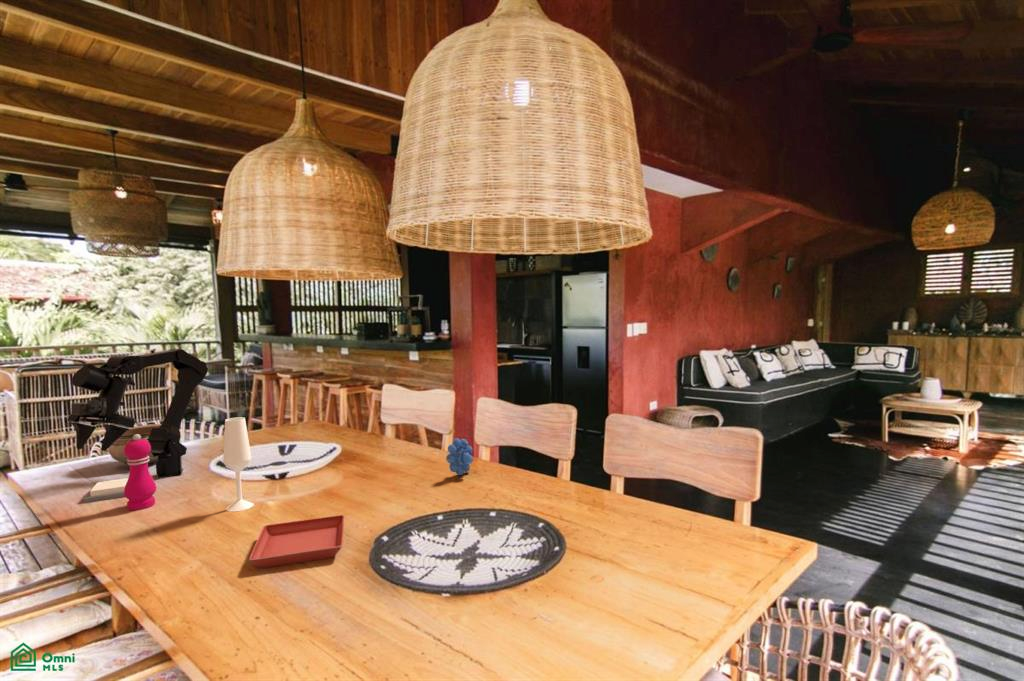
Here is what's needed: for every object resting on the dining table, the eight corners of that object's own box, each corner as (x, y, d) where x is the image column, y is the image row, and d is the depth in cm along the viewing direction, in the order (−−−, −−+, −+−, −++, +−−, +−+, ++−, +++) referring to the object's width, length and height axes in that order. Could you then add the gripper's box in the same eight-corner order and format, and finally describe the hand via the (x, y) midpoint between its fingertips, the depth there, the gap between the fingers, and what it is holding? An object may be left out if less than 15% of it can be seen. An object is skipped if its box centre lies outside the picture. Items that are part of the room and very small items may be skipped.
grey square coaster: (141, 484, 163) (140, 475, 163) (135, 495, 153) (134, 485, 153) (92, 491, 158) (92, 482, 157) (83, 503, 148) (82, 493, 148)
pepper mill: (144, 510, 141) (140, 437, 140) (118, 511, 141) (113, 437, 140) (163, 501, 148) (158, 430, 147) (138, 501, 148) (133, 431, 147)
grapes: (458, 482, 158) (457, 443, 157) (442, 479, 162) (440, 440, 161) (482, 472, 168) (481, 435, 167) (466, 469, 172) (465, 432, 171)
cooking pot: (96, 465, 185) (93, 431, 184) (155, 452, 201) (153, 421, 200) (129, 476, 172) (126, 439, 171) (190, 461, 188) (188, 427, 187)
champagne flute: (242, 512, 138) (237, 422, 137) (219, 510, 140) (214, 421, 138) (259, 502, 145) (254, 416, 144) (237, 501, 146) (233, 416, 145)
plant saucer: (248, 575, 106) (248, 559, 106) (264, 538, 123) (263, 524, 123) (343, 561, 111) (342, 545, 111) (345, 527, 128) (344, 514, 128)
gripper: (59, 388, 150) (36, 442, 144) (108, 389, 144) (87, 446, 139) (97, 398, 160) (77, 450, 154) (144, 400, 154) (125, 453, 149)
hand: (90, 450), depth 149 cm, fingers open, 9 cm apart
